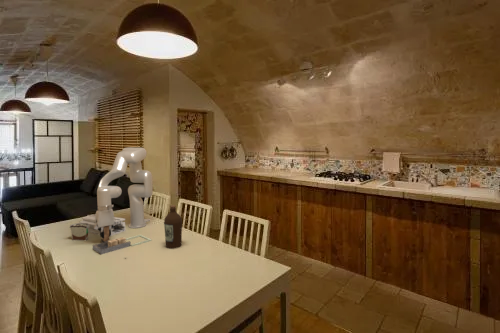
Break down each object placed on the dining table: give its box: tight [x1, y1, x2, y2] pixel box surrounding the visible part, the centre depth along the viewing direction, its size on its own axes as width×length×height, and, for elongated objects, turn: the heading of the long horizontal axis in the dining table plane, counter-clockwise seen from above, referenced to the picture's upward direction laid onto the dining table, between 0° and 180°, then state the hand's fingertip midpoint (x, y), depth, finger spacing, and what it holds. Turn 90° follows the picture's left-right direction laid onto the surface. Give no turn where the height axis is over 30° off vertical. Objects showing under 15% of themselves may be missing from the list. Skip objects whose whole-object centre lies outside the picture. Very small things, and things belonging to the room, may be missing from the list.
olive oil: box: [163, 204, 183, 249], centre depth 172 cm, size 11×11×25 cm
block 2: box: [115, 236, 127, 244], centre depth 171 cm, size 4×4×4 cm
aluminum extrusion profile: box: [79, 213, 126, 237], centre depth 202 cm, size 14×31×10 cm, turn 64°
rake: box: [100, 226, 111, 243], centre depth 175 cm, size 3×8×12 cm, turn 49°
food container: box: [69, 222, 89, 241], centre depth 185 cm, size 12×6×10 cm, turn 84°
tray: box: [125, 234, 153, 247], centre depth 178 cm, size 13×14×2 cm
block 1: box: [108, 238, 118, 247], centre depth 167 cm, size 4×4×4 cm
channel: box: [92, 238, 132, 255], centre depth 167 cm, size 17×11×4 cm
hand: (105, 236), depth 175 cm, fingers closed on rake, 3 cm apart
